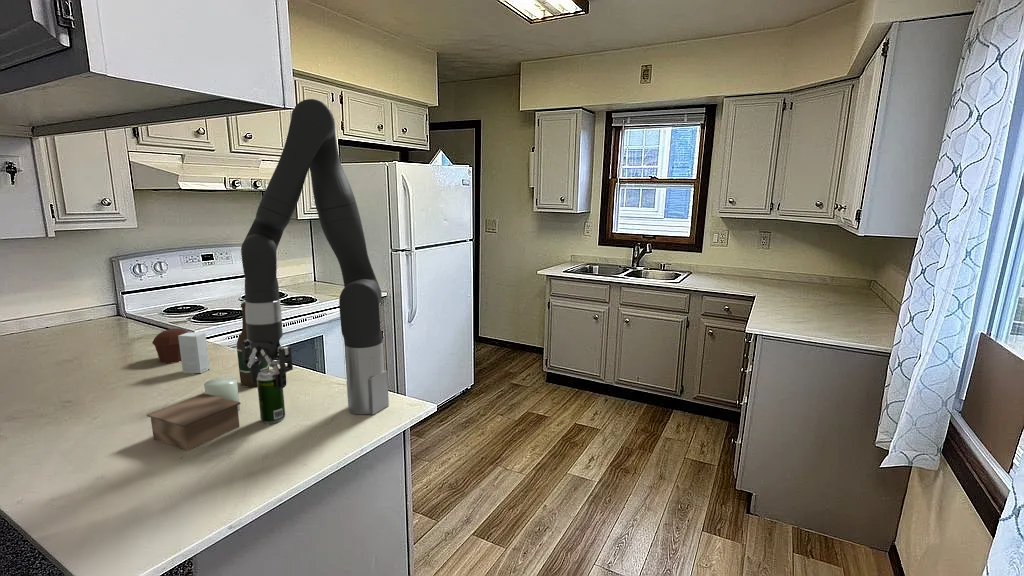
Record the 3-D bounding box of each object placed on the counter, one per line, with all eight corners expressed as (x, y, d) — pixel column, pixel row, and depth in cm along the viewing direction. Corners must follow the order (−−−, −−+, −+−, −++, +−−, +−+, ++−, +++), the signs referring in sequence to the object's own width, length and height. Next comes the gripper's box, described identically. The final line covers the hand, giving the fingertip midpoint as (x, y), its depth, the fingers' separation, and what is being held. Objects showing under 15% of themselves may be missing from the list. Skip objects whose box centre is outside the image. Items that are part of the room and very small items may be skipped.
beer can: (290, 417, 120) (286, 370, 118) (271, 426, 115) (267, 378, 113) (274, 413, 122) (270, 367, 120) (255, 422, 117) (251, 374, 115)
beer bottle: (243, 390, 136) (235, 306, 132) (238, 382, 142) (229, 301, 138) (273, 383, 141) (266, 302, 137) (266, 375, 147) (259, 298, 143)
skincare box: (210, 369, 153) (206, 332, 151) (200, 374, 149) (196, 336, 146) (192, 368, 153) (187, 332, 151) (182, 373, 149) (177, 335, 147)
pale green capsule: (246, 408, 124) (243, 379, 123) (220, 420, 118) (216, 388, 117) (227, 404, 127) (224, 374, 126) (201, 414, 121) (197, 384, 119)
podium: (242, 426, 115) (240, 402, 114) (187, 452, 103) (184, 425, 102) (206, 416, 120) (203, 393, 119) (149, 439, 108) (146, 414, 107)
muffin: (147, 365, 157) (142, 335, 155) (166, 354, 167) (162, 326, 166) (186, 363, 158) (182, 333, 156) (203, 353, 169) (200, 325, 167)
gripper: (299, 319, 114) (302, 384, 117) (257, 312, 120) (261, 374, 123) (271, 326, 108) (276, 395, 111) (228, 318, 114) (233, 384, 117)
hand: (268, 384), depth 117 cm, fingers open, 8 cm apart
